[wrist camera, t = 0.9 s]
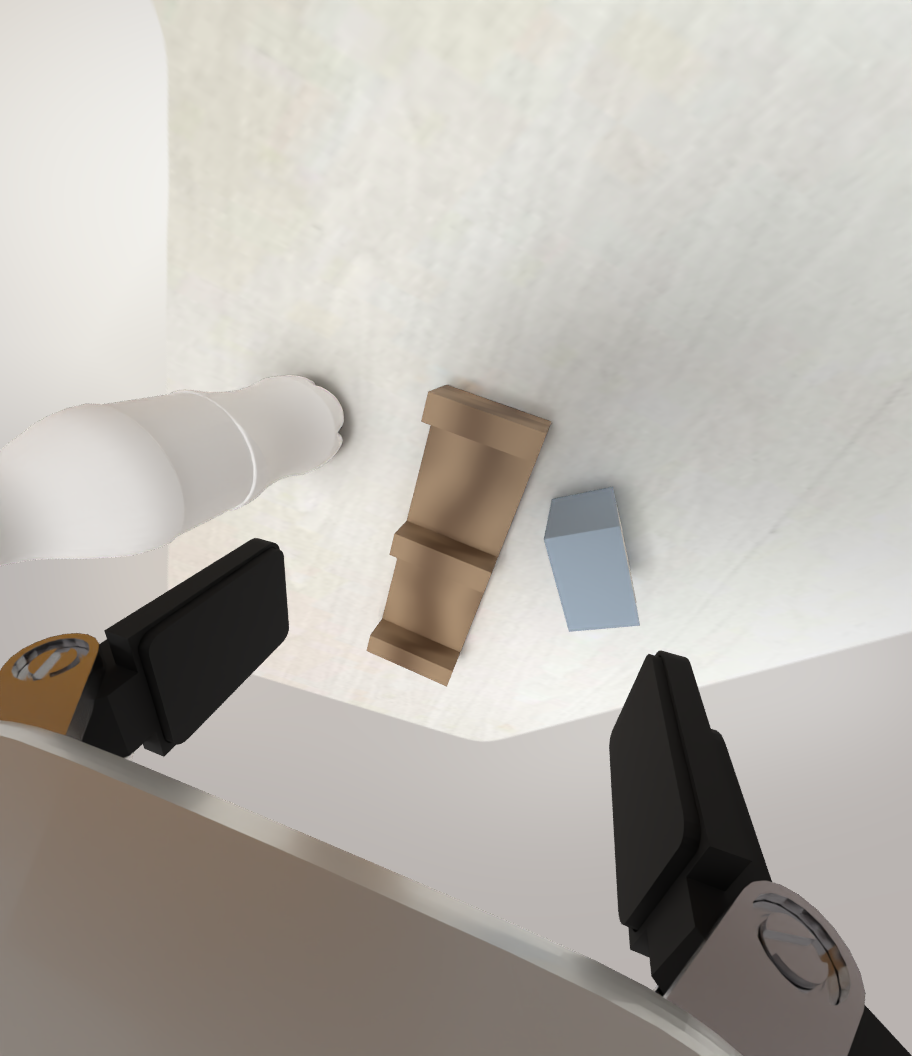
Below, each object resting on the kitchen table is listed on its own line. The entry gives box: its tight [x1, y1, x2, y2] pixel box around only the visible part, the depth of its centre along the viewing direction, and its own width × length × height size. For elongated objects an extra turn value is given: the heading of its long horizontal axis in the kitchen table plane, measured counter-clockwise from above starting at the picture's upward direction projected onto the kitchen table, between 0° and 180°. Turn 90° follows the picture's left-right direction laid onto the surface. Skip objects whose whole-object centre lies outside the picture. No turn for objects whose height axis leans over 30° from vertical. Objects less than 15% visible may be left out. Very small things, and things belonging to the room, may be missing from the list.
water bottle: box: [0, 375, 344, 566], centre depth 23 cm, size 7×7×25 cm
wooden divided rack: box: [367, 385, 551, 686], centre depth 34 cm, size 8×24×4 cm, turn 163°
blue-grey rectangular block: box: [544, 487, 640, 632], centre depth 29 cm, size 4×7×7 cm, turn 18°
